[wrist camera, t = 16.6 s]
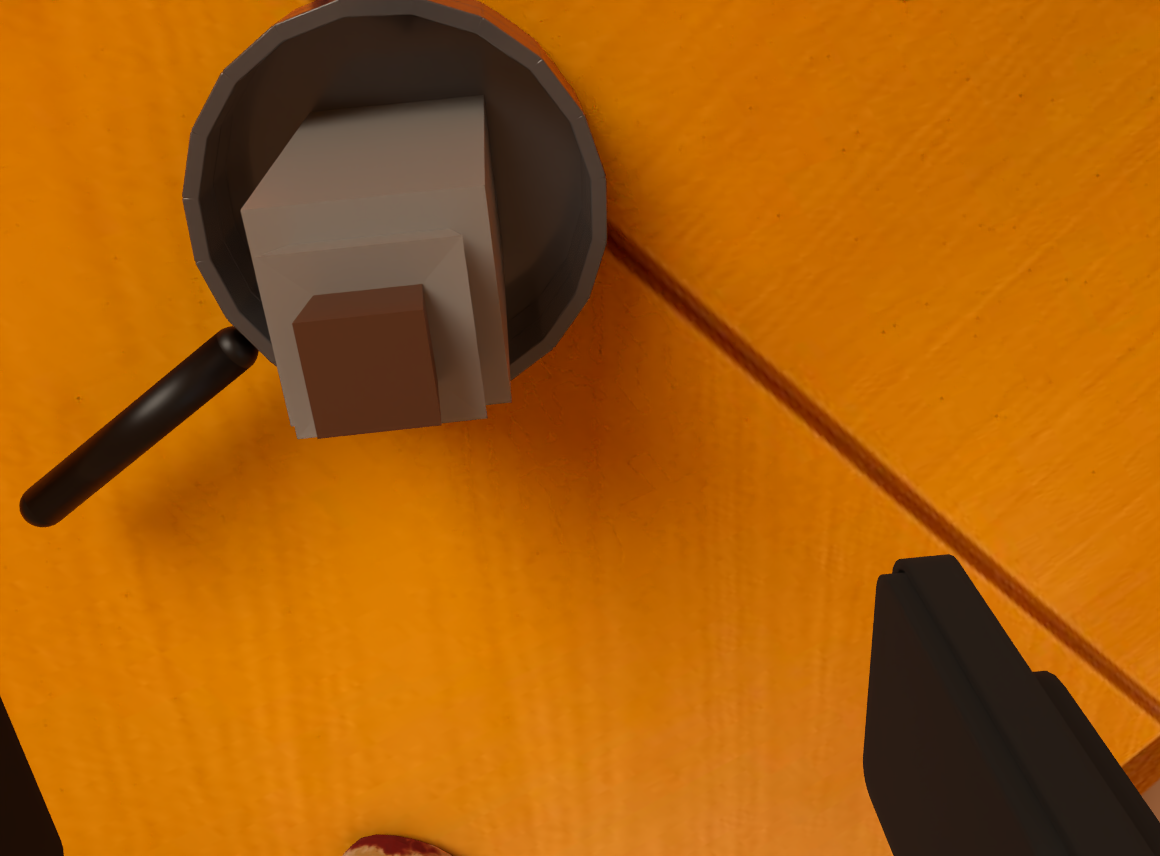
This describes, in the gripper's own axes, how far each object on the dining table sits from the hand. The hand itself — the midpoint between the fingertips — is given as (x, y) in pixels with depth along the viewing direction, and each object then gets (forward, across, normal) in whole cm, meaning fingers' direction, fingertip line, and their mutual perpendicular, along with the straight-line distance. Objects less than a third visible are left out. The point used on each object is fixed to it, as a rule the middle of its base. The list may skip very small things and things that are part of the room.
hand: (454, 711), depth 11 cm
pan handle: (+32, +15, +11) cm, 37 cm away
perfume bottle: (+34, +3, +3) cm, 35 cm away
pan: (+35, +3, +3) cm, 35 cm away
